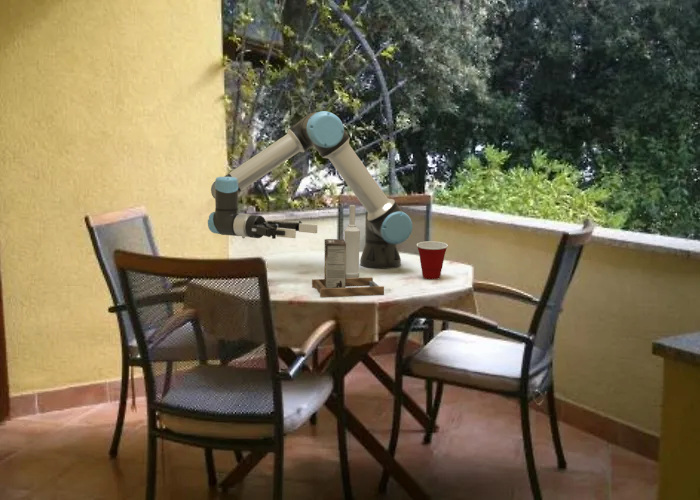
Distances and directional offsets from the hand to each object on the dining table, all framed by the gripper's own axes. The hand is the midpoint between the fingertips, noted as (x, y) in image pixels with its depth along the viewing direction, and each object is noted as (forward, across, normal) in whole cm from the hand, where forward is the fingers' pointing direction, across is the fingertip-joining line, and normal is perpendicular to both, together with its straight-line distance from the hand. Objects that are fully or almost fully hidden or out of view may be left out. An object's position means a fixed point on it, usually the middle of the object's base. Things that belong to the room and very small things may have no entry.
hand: (306, 231), depth 253 cm
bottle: (+5, -22, -18) cm, 29 cm away
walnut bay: (+14, -3, -18) cm, 23 cm away
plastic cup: (+29, -36, -18) cm, 50 cm away
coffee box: (+10, -1, -18) cm, 21 cm away
